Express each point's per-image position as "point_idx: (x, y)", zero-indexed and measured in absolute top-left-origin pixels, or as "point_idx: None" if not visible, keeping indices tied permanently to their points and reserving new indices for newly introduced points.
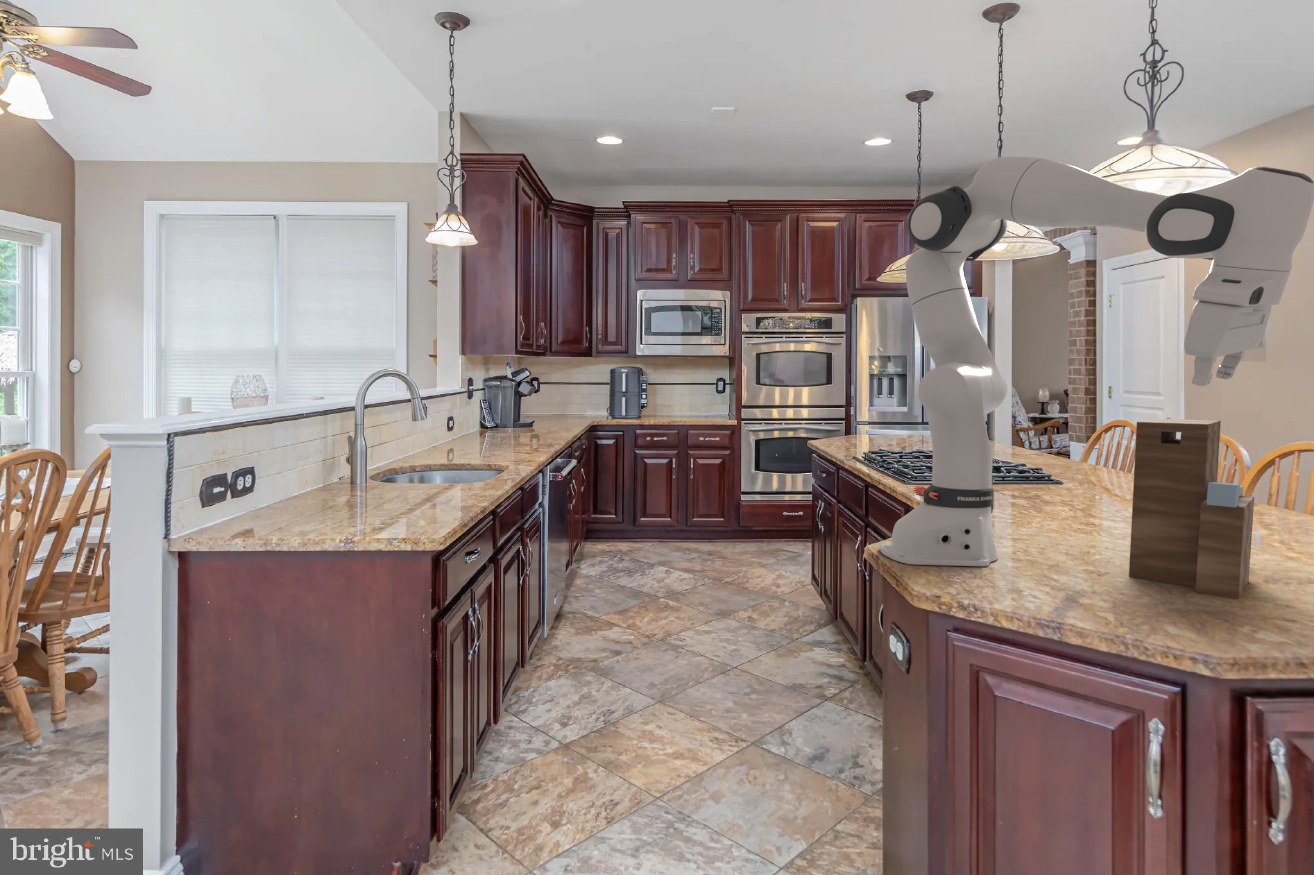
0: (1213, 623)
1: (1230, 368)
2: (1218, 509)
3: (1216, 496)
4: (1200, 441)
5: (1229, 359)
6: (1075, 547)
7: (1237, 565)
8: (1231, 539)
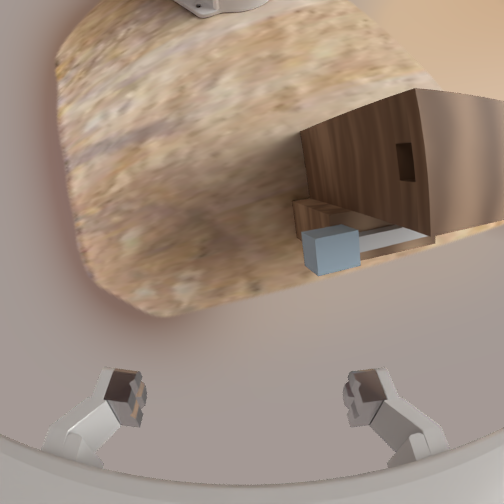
0: (182, 251)
1: (353, 423)
2: None
3: (307, 246)
4: (407, 217)
5: (399, 430)
6: (385, 53)
7: None
8: None
